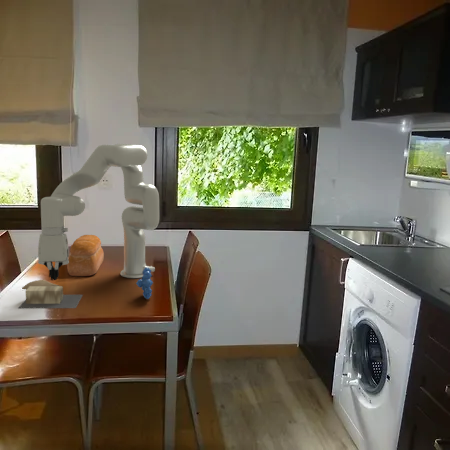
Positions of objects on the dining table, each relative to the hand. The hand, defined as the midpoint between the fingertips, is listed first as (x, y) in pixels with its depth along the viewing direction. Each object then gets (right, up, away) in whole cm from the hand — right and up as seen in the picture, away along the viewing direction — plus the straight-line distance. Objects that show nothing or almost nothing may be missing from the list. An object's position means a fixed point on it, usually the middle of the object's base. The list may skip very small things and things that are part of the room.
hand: (54, 279), depth 163 cm
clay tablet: (-11, -6, +16) cm, 21 cm away
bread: (-2, -1, +45) cm, 45 cm away
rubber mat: (-1, -9, +2) cm, 9 cm away
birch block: (+2, -6, +1) cm, 7 cm away
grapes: (+32, -9, +11) cm, 35 cm away
